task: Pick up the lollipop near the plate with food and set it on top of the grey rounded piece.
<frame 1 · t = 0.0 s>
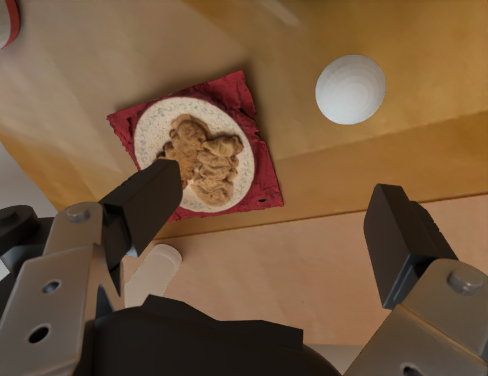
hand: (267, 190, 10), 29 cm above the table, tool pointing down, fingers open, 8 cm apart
plate with food: (200, 159, 45), on the table
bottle: (168, 254, 62), on the table
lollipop: (338, 73, 33), on the table
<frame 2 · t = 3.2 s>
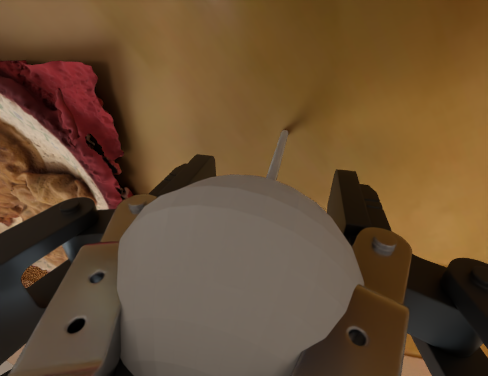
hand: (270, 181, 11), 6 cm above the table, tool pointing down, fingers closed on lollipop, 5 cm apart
plate with food: (37, 190, 26), on the table
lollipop: (285, 132, 16), on the table, touching gripper
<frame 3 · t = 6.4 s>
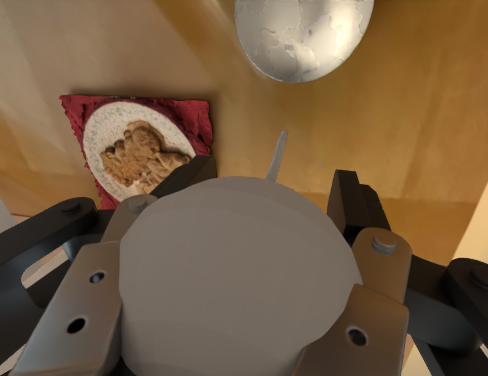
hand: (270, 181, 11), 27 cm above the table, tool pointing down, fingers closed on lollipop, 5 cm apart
plate with food: (150, 164, 45), on the table
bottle: (98, 241, 60), on the table
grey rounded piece: (304, 20, 30), on the table
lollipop: (284, 132, 16), point 20 cm above the table, touching gripper
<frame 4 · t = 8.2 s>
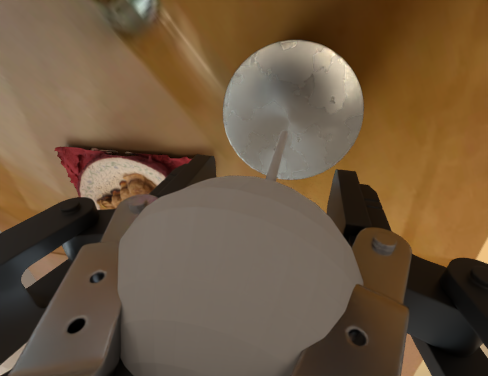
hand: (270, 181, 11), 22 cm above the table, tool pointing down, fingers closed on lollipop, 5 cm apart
plate with food: (147, 209, 46), on the table
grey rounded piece: (297, 90, 29), on the table
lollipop: (284, 132, 16), point 15 cm above the table, touching gripper
when the fingers open (18 cm above the table, at t = 9.6 s): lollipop stays where it is, resting on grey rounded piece.
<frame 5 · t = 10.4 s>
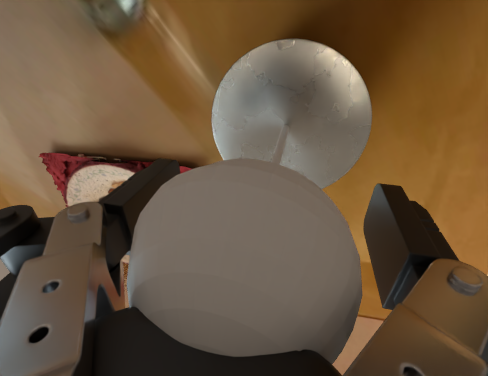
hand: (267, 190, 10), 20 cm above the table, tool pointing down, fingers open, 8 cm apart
plate with food: (138, 218, 43), on the table
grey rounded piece: (296, 94, 27), on the table
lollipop: (285, 127, 17), point 12 cm above the table, touching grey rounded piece
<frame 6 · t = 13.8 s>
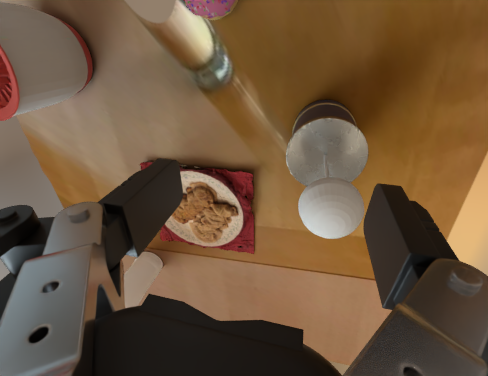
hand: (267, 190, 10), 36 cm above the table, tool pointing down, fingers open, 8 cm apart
plate with food: (202, 208, 60), on the table
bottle: (151, 260, 76), on the table
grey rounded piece: (322, 129, 44), on the table
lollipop: (325, 155, 34), point 12 cm above the table, touching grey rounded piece
citrus juicer: (63, 51, 48), on the table
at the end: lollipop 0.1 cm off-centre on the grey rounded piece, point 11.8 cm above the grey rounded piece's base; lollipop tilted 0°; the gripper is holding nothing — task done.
